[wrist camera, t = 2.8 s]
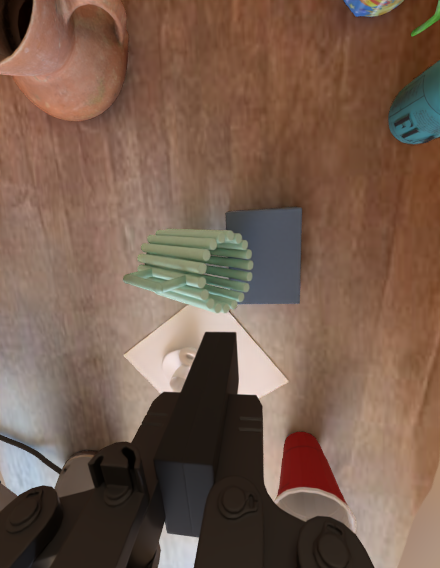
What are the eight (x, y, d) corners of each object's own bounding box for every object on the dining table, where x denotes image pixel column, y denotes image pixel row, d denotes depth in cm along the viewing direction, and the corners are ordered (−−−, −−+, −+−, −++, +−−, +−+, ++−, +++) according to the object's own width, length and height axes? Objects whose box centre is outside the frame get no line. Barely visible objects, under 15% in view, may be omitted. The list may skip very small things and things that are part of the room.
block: (233, 294, 39) (230, 304, 35) (228, 211, 36) (225, 212, 32) (295, 293, 38) (299, 303, 34) (297, 206, 34) (302, 207, 30)
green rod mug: (162, 285, 40) (110, 332, 26) (154, 227, 38) (91, 244, 24) (254, 283, 38) (252, 333, 24) (253, 221, 36) (249, 237, 21)
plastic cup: (271, 414, 45) (275, 487, 34) (337, 424, 44) (365, 502, 32) (265, 461, 48) (267, 541, 37) (327, 471, 47) (348, 557, 36)
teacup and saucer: (190, 336, 42) (183, 350, 39) (221, 371, 44) (218, 387, 40) (153, 363, 45) (143, 378, 41) (184, 395, 46) (177, 413, 42)
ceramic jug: (32, 128, 36) (-102, 87, 23) (7, -9, 31) (-180, -163, 18) (159, 125, 34) (92, 77, 20) (151, -24, 29) (58, -213, 16)
